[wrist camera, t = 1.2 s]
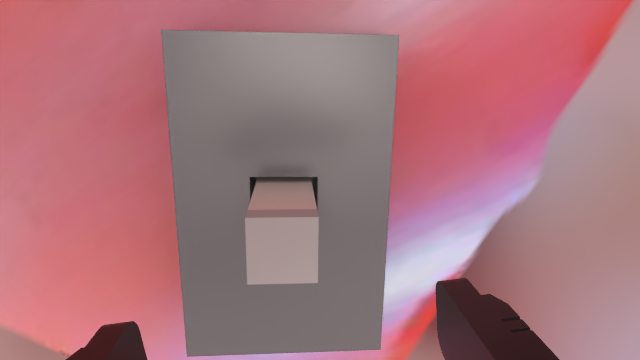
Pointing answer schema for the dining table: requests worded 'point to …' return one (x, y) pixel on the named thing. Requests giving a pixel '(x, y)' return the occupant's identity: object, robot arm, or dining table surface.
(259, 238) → the pale square peg
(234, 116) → the header
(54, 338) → the dining table surface
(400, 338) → the dining table surface
